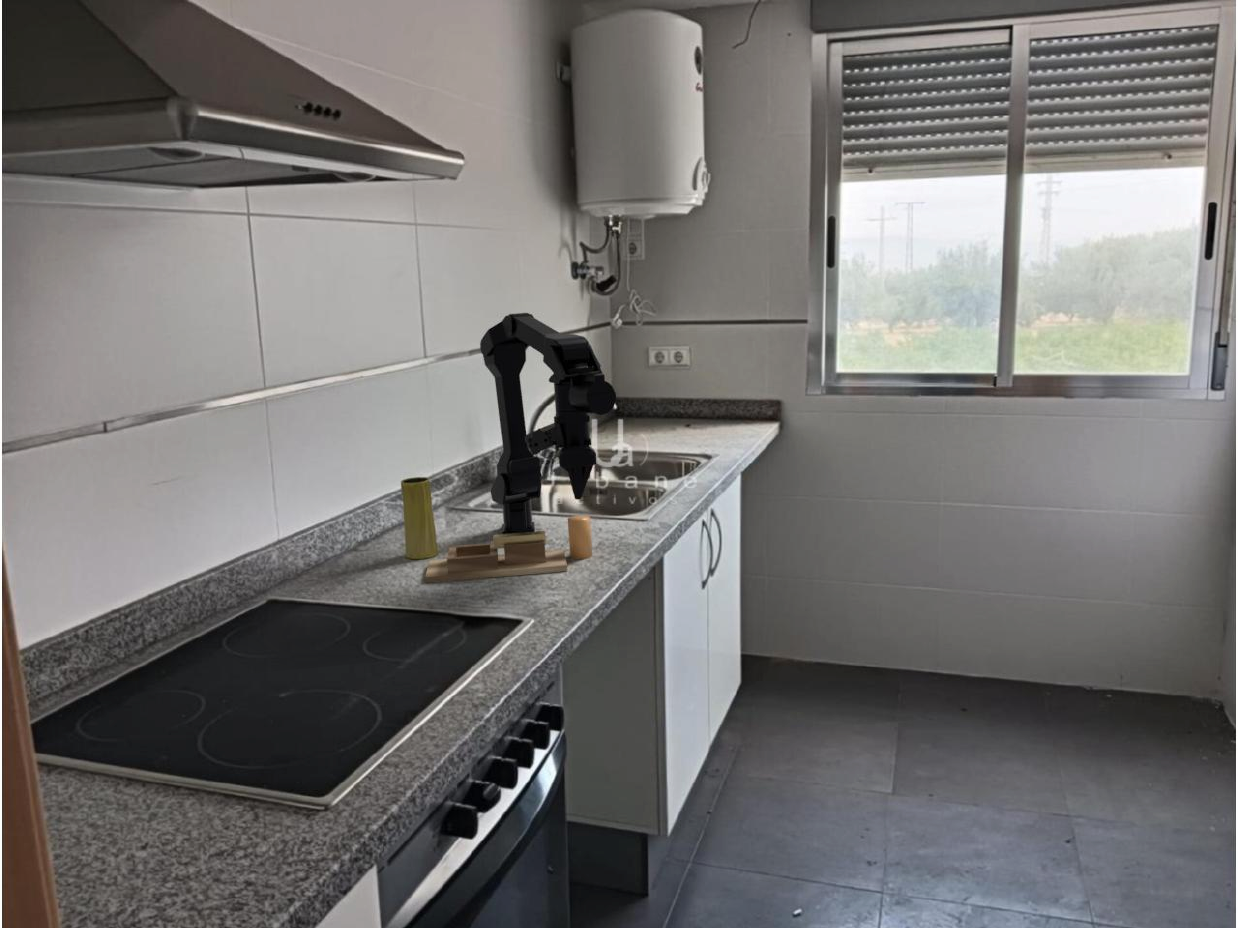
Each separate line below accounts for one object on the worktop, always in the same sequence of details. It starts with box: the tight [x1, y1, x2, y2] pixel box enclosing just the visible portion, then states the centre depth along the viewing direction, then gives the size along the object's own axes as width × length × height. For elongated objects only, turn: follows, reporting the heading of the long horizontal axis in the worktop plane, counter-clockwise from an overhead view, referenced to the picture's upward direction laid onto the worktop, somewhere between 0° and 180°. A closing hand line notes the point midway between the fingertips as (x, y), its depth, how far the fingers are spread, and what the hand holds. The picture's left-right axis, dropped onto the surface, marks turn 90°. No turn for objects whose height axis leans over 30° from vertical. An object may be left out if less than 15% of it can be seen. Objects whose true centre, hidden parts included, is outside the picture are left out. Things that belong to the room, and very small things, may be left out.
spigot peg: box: [567, 514, 593, 560], centre depth 178 cm, size 4×4×7 cm
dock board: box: [424, 542, 568, 584], centre depth 173 cm, size 10×24×4 cm, turn 96°
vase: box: [400, 476, 440, 560], centre depth 183 cm, size 6×6×14 cm
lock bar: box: [492, 530, 547, 550], centre depth 173 cm, size 2×9×2 cm, turn 96°
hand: (577, 496), depth 176 cm, fingers open, 4 cm apart
